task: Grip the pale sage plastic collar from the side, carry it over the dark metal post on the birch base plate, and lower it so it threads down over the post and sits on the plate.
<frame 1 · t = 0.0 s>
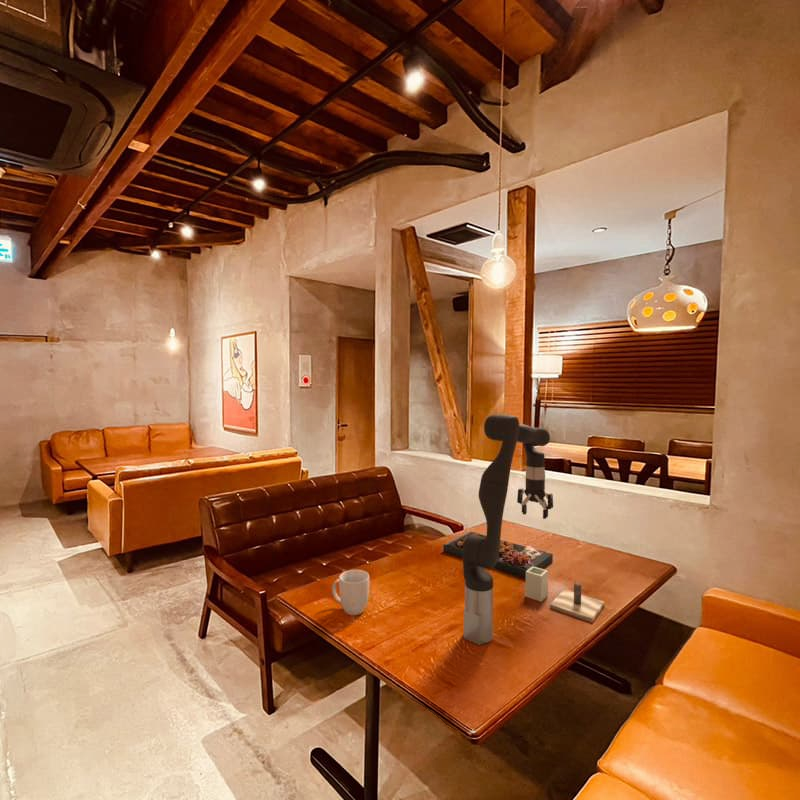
hand: (534, 516, 177), 29 cm above the table, tool pointing down, fingers open, 8 cm apart
mug: (352, 610, 160), on the table
collar: (536, 595, 171), on the table
food platter: (496, 558, 208), on the table
post base: (577, 606, 162), on the table
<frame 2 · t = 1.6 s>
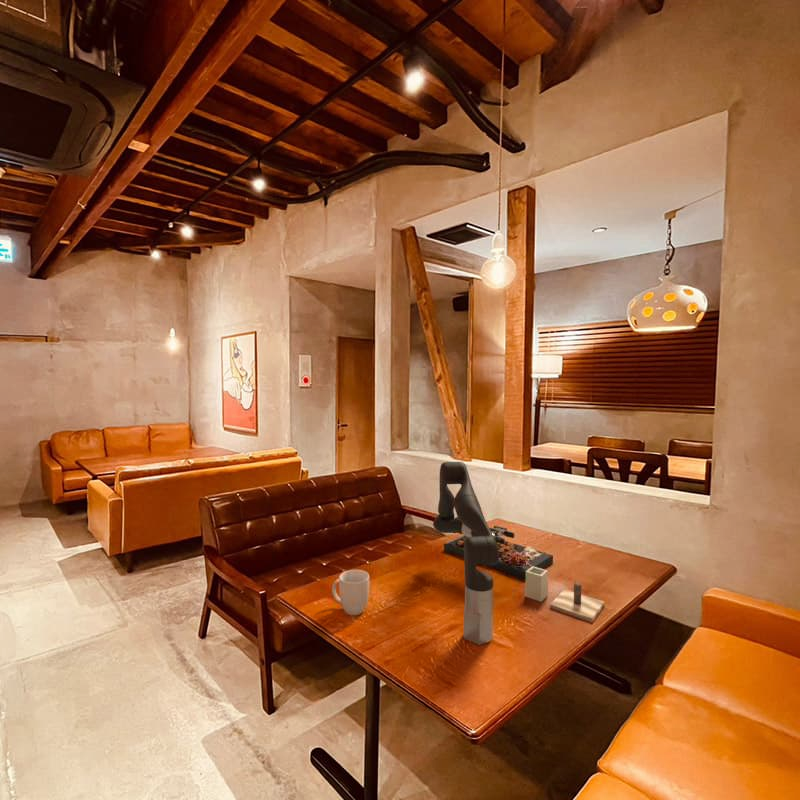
hand: (509, 538, 177), 20 cm above the table, tool horizontal, fingers open, 8 cm apart
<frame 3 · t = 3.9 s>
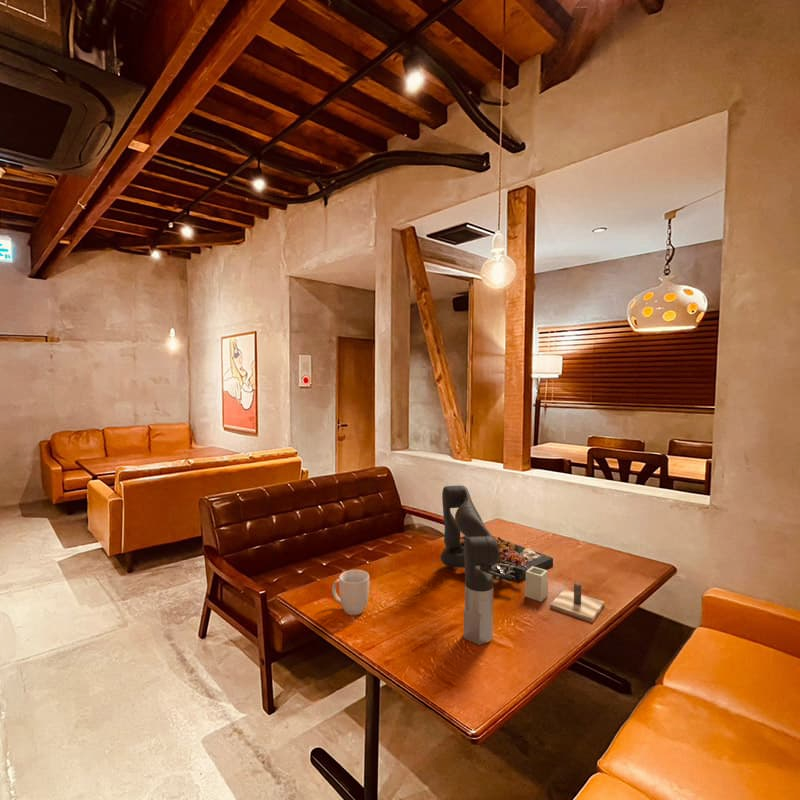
hand: (519, 575, 175), 6 cm above the table, tool horizontal, fingers open, 8 cm apart
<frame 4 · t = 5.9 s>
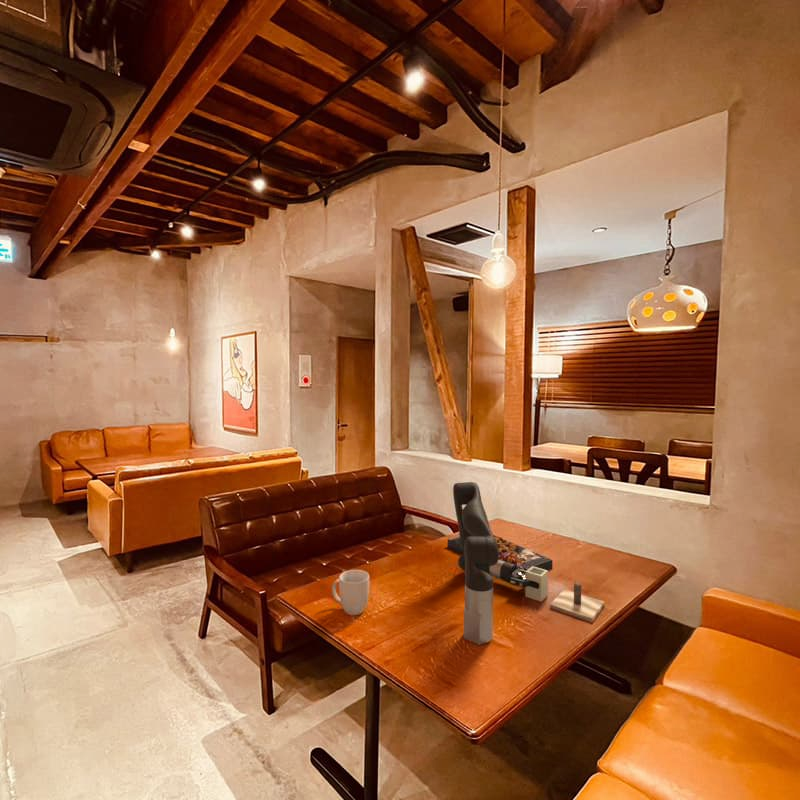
hand: (542, 582, 169), 6 cm above the table, tool horizontal, fingers closed on collar, 6 cm apart
collar: (536, 595, 171), on the table, touching gripper
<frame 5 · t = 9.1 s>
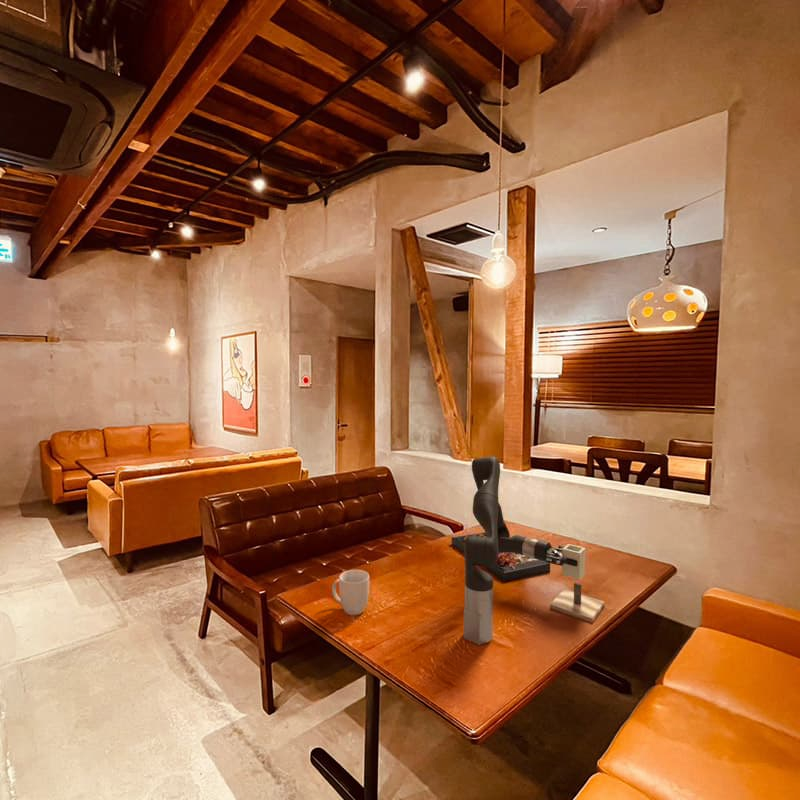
hand: (580, 560, 161), 18 cm above the table, tool horizontal, fingers closed on collar, 6 cm apart
collar: (573, 574, 163), point 12 cm above the table, touching gripper
when the fingers open (9 cm above the table, at t = 12.5 s): collar drops 1 cm, resting on post base.
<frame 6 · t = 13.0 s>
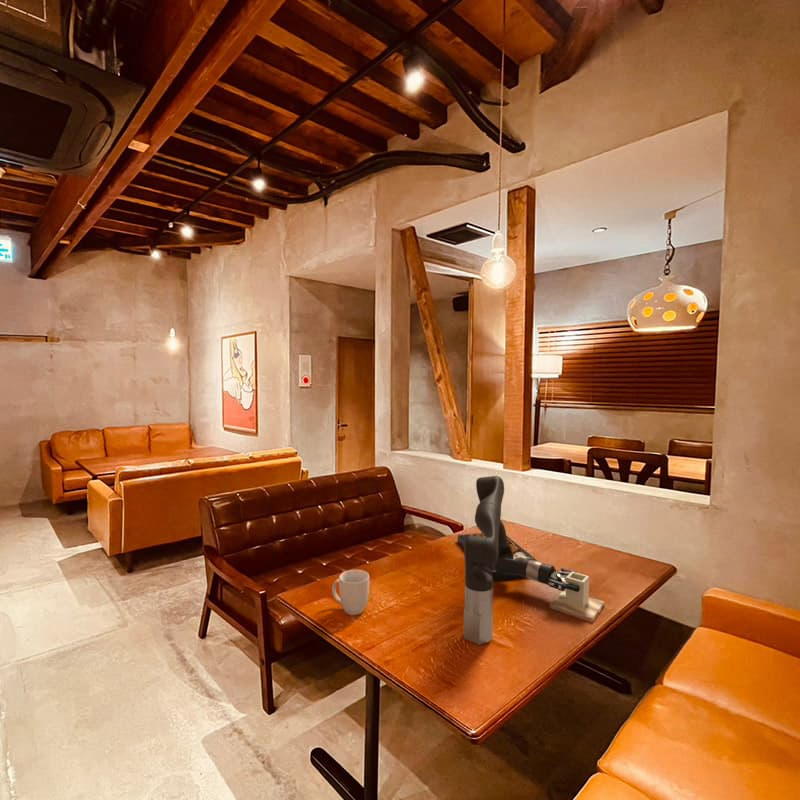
hand: (583, 584, 161), 9 cm above the table, tool horizontal, fingers open, 8 cm apart
collar: (577, 602, 162), point 1 cm above the table, touching post base
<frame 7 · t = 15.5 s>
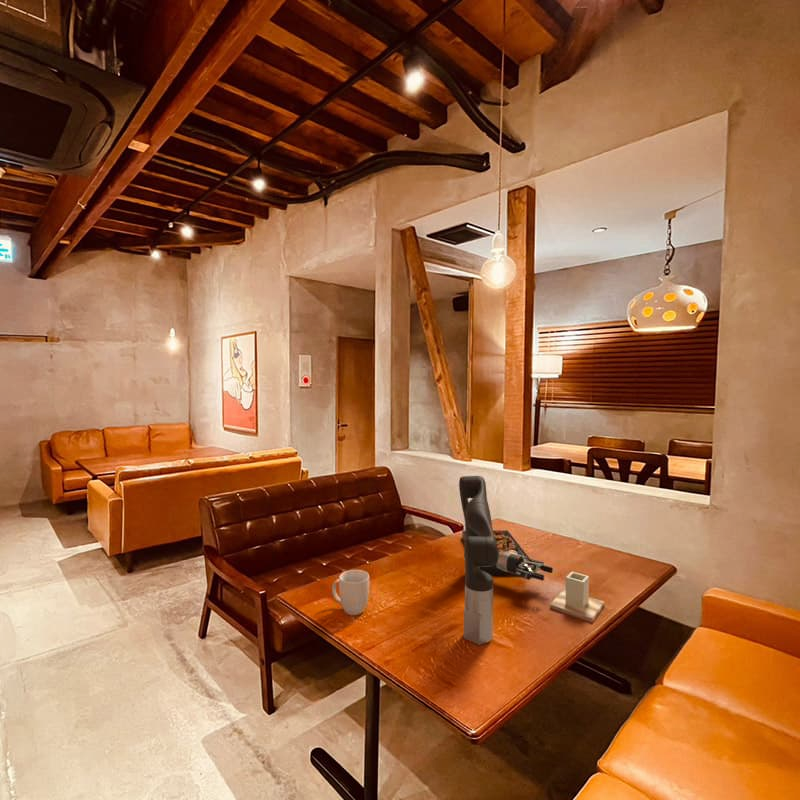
hand: (548, 574, 169), 9 cm above the table, tool horizontal, fingers open, 8 cm apart
food platter: (495, 555, 212), on the table
everything else where it was.
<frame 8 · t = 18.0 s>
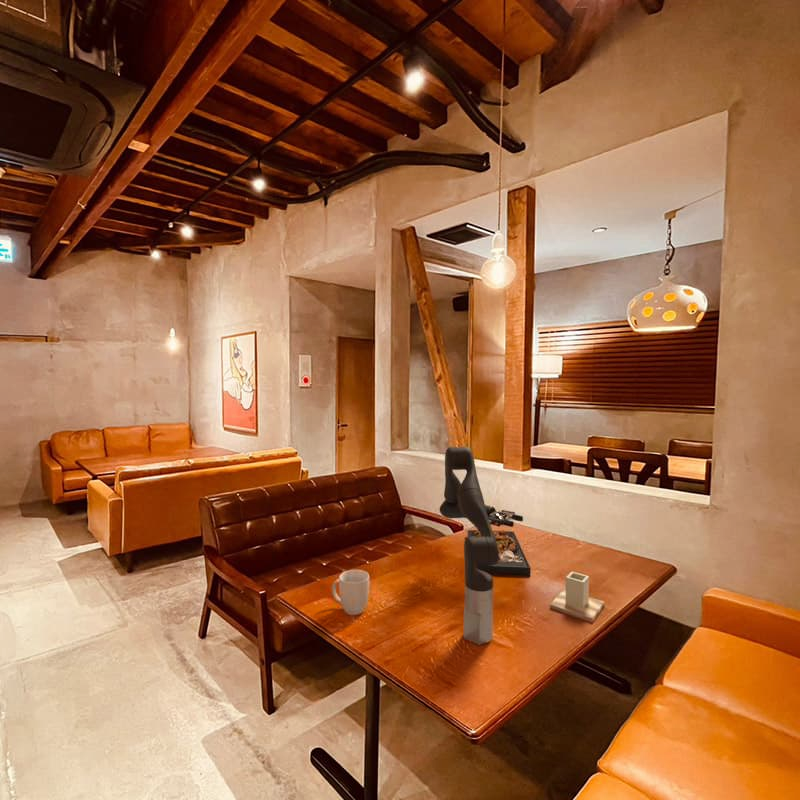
hand: (518, 521, 175), 28 cm above the table, tool horizontal, fingers open, 8 cm apart
at the end: collar 0.1 cm off-centre on the post base, point 1.5 cm above the post base's base; collar tilted 0°; the gripper is holding nothing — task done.
